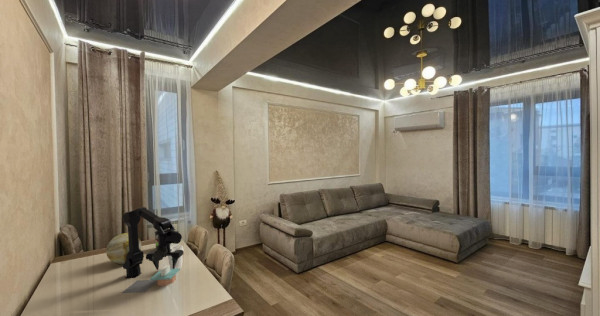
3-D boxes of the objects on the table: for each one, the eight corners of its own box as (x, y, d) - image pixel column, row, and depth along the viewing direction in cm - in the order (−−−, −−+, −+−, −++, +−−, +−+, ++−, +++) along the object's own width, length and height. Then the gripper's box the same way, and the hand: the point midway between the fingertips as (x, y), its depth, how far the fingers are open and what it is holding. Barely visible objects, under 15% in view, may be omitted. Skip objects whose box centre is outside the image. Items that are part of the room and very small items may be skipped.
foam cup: (177, 272, 153) (176, 251, 153) (164, 271, 155) (163, 251, 155) (187, 265, 163) (186, 245, 162) (175, 265, 164) (173, 245, 164)
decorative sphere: (142, 263, 170) (141, 234, 169) (105, 272, 158) (104, 240, 158) (141, 254, 186) (140, 227, 185) (108, 261, 175) (106, 233, 174)
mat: (120, 294, 131) (120, 293, 131) (137, 281, 144) (137, 280, 144) (145, 293, 131) (145, 292, 131) (159, 280, 144) (159, 279, 144)
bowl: (153, 286, 137) (153, 278, 137) (162, 278, 146) (162, 271, 146) (170, 286, 137) (169, 278, 137) (178, 278, 146) (177, 270, 146)
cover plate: (150, 280, 136) (149, 272, 136) (161, 270, 147) (161, 263, 147) (170, 279, 136) (169, 271, 136) (180, 269, 147) (179, 262, 147)
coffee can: (164, 251, 190) (163, 232, 190) (152, 250, 192) (151, 232, 192) (173, 246, 200) (172, 228, 200) (162, 245, 202) (161, 228, 202)
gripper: (138, 248, 133) (140, 277, 134) (173, 246, 133) (174, 275, 134) (151, 240, 144) (152, 267, 145) (183, 239, 144) (184, 266, 145)
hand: (165, 269), depth 142 cm, fingers open, 9 cm apart
